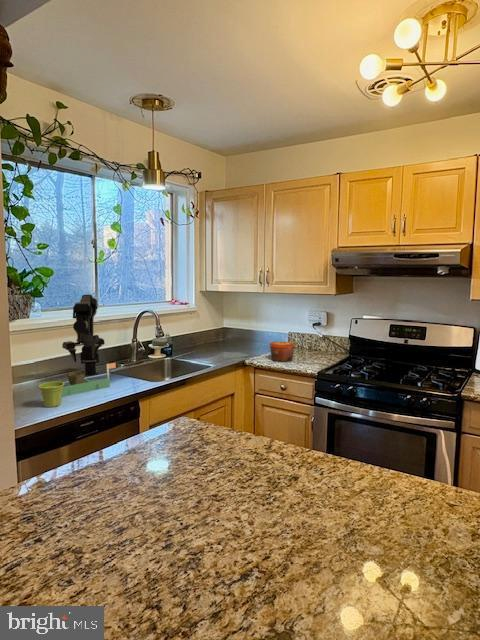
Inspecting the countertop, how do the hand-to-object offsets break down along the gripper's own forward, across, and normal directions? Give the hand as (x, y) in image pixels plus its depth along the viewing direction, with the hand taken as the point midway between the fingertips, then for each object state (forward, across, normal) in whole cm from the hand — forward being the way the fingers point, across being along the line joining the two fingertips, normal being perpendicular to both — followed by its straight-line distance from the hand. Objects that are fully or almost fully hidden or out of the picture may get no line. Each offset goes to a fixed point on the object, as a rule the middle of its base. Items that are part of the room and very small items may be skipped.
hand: (84, 360), depth 203 cm
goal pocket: (+11, -6, -9) cm, 15 cm away
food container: (+12, +111, -32) cm, 116 cm away
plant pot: (+10, -25, -25) cm, 36 cm away
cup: (+11, -8, -8) cm, 16 cm away
